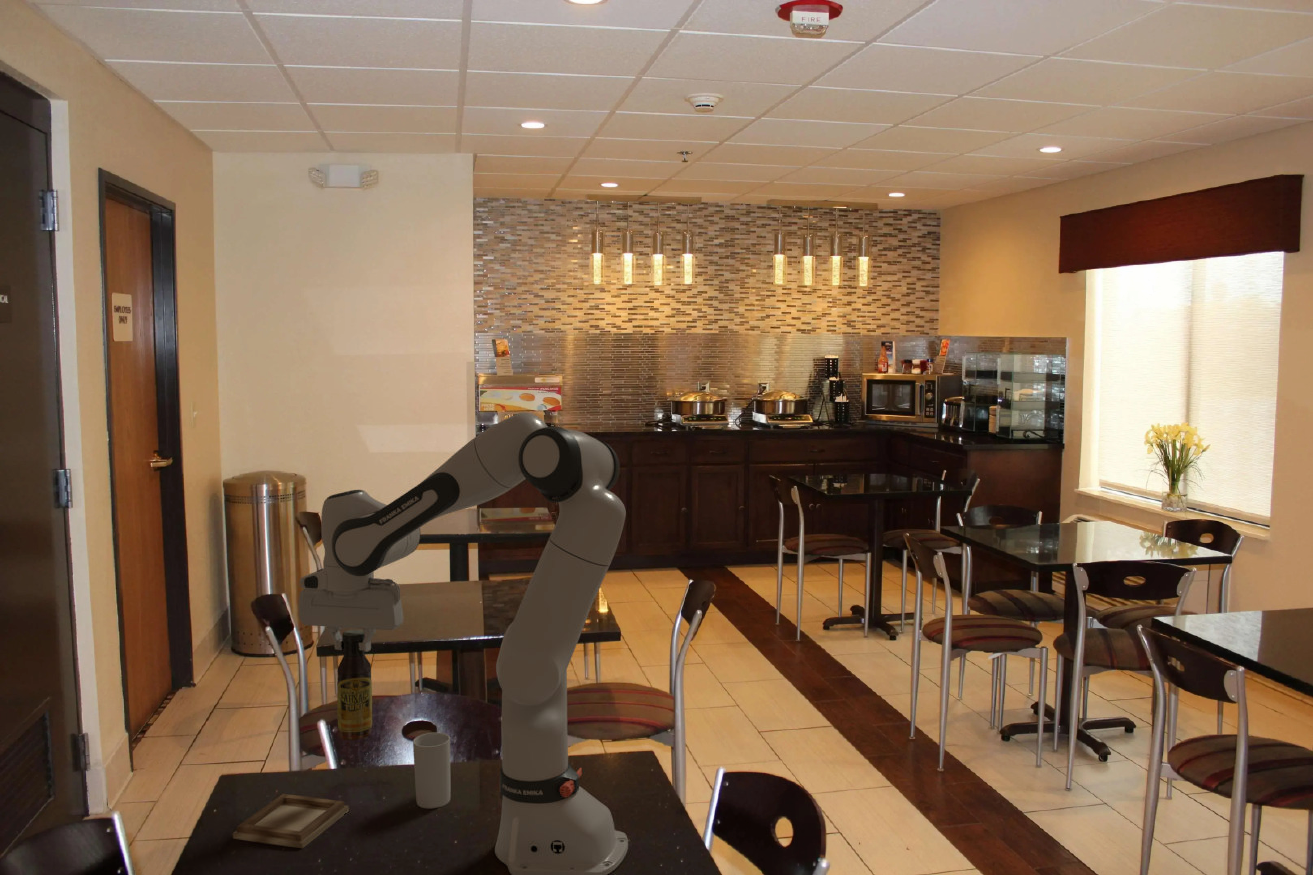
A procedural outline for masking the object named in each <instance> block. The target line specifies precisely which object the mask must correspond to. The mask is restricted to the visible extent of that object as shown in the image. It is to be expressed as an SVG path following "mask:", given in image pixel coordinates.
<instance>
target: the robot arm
mask: <svg viewBox="0 0 1313 875" xmlns="http://www.w3.org/2000/svg"><path fill="white" fill-rule="evenodd" d="M620 467H621V465H620V459H619V457H618V454H617V453H616V451H615V450H614V449H613V447H612V446H610V445H609V444H608V443H606V442H605V441H603V440H602V439H599V438H596V437H592V436H590V435H589V434H586V433H585V432H583V431H579V430H577V429H576V430H575V429H570V428H564V427H560V426H548V425H547V423H546V422H544V420H543V419H542V418H541V417H539V416H537V415H536V414H533V413H531V412H519V413H517V414H514V415H512V416H510V417H508V418H505V419H502V420H501V421H499V422H497V423H495V424H493V425H492V426H490V427H488V428H487V429H485V430H484V431H483V432H481V433H479V434H478V435H476V436H475V437H474V438H472V439H471V440H470V441H468V442H467V443H466V444H464V445H463V446H462V447H461V448H459V449H458V450H457V451H456V452H455V453H453V454H452V455H451V456H450V457H449V458H448V459H447V460H446V461H444V463H443V464H441V465H440V466H439V467H438V468H437V469H435V470H434V471H433V472H431V474H429V475H428V476H427V477H426V478H424V479H423V480H422V481H421V482H420V483H418V484H417V485H416V486H414V487H413V488H411V489H409V490H408V491H407V492H405V493H404V494H401V496H399V497H397V498H395V500H393V501H391V502H390V503H389V504H385V503H384V502H381V501H380V500H376V499H375V498H374V497H372V496H371V495H370V494H369V493H368V492H367V491H365V490H362V489H351V490H348V491H342V492H339V493H335V494H331V495H329V496H328V497H326V498H325V499H324V501H323V504H322V509H321V522H320V526H321V542H322V545H323V549H324V557H323V560H322V566H323V568H320V569H318V570H316V571H313V572H311V573H309V574H308V573H307V574H306V575H304V576H302V577H300V579H299V586H300V588H301V591H300V592H299V596H298V618H299V621H300V622H301V623H302V625H303V626H311V627H312V626H313V627H327V632H328V634H329V636H330V637H331V639H332V640H333V642H334V649H335V650H336V651H344V642H343V640H342V636H343V635H342V634H341V632H340V630H342V628H347V629H359V630H363V634H365V638H364V640H363V641H361V642H359V647H360V648H359V651H363V652H366V653H367V652H370V651H371V649H372V642H371V641H372V640H373V638H374V636H375V633H376V632H377V631H379V630H380V631H381V630H382V631H394V630H397V629H398V628H399V627H401V626H402V625H403V624H404V623H403V622H404V618H405V617H404V612H403V604H402V600H401V587H400V585H399V584H398V583H396V582H395V581H394V580H393V579H392V578H391V579H390V578H386V579H385V578H383V579H382V578H375V577H374V575H375V574H374V573H375V571H377V570H379V569H381V568H382V567H386V566H388V565H391V564H393V563H395V562H397V561H400V560H402V559H404V558H406V557H408V556H409V555H411V554H413V553H414V552H415V551H416V549H417V548H418V546H419V545H420V542H421V528H422V527H423V526H425V525H427V524H428V523H429V522H431V521H433V520H435V519H437V518H439V517H442V516H446V515H447V514H448V515H449V514H451V513H454V512H458V511H462V510H466V509H470V508H472V507H476V506H478V505H482V504H484V503H488V502H489V501H491V500H494V499H496V498H498V497H500V496H502V495H504V494H506V493H508V492H509V491H510V490H511V489H513V488H515V487H516V486H518V485H519V484H521V483H522V482H524V481H525V480H526V481H527V482H529V484H530V485H532V486H533V487H534V488H535V489H537V490H538V492H540V493H541V495H542V496H543V497H544V498H545V499H546V500H547V501H548V502H550V503H558V507H559V514H558V517H557V519H556V522H555V526H554V527H553V529H552V531H551V533H550V536H549V537H548V540H547V542H546V545H545V546H544V549H543V551H542V553H541V555H540V557H539V560H538V562H537V565H536V567H535V570H533V574H532V576H531V578H530V580H529V583H528V585H527V588H526V590H525V593H524V594H523V598H522V600H521V603H520V605H519V607H518V610H517V612H516V614H515V617H514V618H513V621H512V622H511V623H510V625H508V627H507V629H506V630H505V631H504V635H503V638H502V642H501V645H500V649H499V652H498V656H497V659H496V666H495V668H496V671H495V673H496V677H497V680H498V684H499V686H500V688H501V691H502V693H501V721H500V724H501V725H500V726H501V727H500V729H501V730H500V731H501V734H500V735H501V758H502V759H501V762H502V763H501V764H502V765H501V767H500V769H499V770H500V771H499V791H500V794H499V795H500V799H501V800H502V802H501V805H502V806H501V815H500V824H499V831H498V835H497V840H496V844H495V847H494V853H495V856H496V857H497V859H498V860H499V861H500V862H502V863H503V864H505V866H507V869H508V872H509V873H510V874H511V875H608V874H610V873H612V872H613V871H614V870H616V869H617V867H619V866H620V864H621V863H622V862H623V860H624V858H625V857H626V854H628V853H627V852H628V849H629V841H628V836H627V834H626V833H625V832H624V831H623V832H622V831H620V830H616V828H615V823H614V820H613V816H612V812H611V810H610V808H608V806H606V805H605V804H604V803H602V801H601V802H600V801H599V799H597V798H595V797H594V796H593V795H591V794H590V793H589V792H588V791H587V790H585V789H584V788H583V787H581V786H580V777H581V776H582V774H583V772H582V767H579V769H578V770H577V771H576V770H574V768H573V767H572V765H571V764H570V762H569V752H568V751H569V745H568V743H569V742H568V741H569V740H568V678H567V676H568V674H567V673H568V671H567V670H568V667H569V664H570V662H571V660H572V657H573V654H574V653H575V650H576V647H577V645H578V642H579V640H580V637H581V634H582V632H583V630H584V626H585V624H586V621H587V619H588V615H589V613H590V611H591V609H592V605H593V603H594V601H595V598H596V597H597V595H598V592H599V590H600V588H601V586H602V584H603V581H604V579H605V577H606V575H607V572H608V570H609V568H610V565H611V563H612V561H613V559H614V556H615V554H616V551H617V549H618V545H619V542H620V540H621V536H622V532H623V530H624V524H625V521H626V515H627V512H626V507H625V505H624V503H623V502H622V500H621V498H620V497H618V496H617V495H616V494H615V493H614V492H612V491H611V489H612V488H613V487H614V486H615V485H616V484H617V482H618V478H619V476H620V469H621V468H620Z"/></svg>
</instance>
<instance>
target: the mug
mask: <svg viewBox="0 0 1313 875" xmlns="http://www.w3.org/2000/svg"><path fill="white" fill-rule="evenodd" d="M412 743H413V744H412V745H413V746H412V748H413V749H412V750H413V751H412V752H413V765H414V783H415V798H416V800H415V801H416V804H417V806H418V807H420V808H423V809H428V810H429V809H438V808H442V807H444V806H446V805H447V804H449V803H450V801H451V786H452V785H451V782H452V781H451V736H450V735H449V734H446V733H442V732H428V733H424V734H420V735H418V736H416V737H415V738H413V740H412Z"/></svg>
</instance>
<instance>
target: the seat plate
mask: <svg viewBox="0 0 1313 875" xmlns="http://www.w3.org/2000/svg"><path fill="white" fill-rule="evenodd" d="M349 806H350V805H346V804H345V801H343V800H334V799H327V798H320V797H319V798H318V797H311V796H302V795H296V794H295V795H294V794H288V793H287V794H286V793H283V794H281V795H280V796H279V797H277V798H275V799H274V800H272V801H271V802H270V803H268V804H267V805H265V806H264V807H262V809H260V810H259V811H257V812H255V813H254V814H252V815H251V816H250V817H249V818H248V817H247V819H245V820H244V821H243V822H241V823H240V824H238V825H237V826H236V830H235V831H233V832H232V839H235V840H241V841H248V842H254V843H255V842H256V843H262V844H267V845H268V844H269V845H276V846H283V847H289V848H296V849H297V848H298V849H304V848H305V847H306V846H308V845H309V844H310V843H311V842H313V841H314V840H315V839H316V838H318V836H320V835H321V834H322V833H324V832H325V831H326V830H328V828H330V827H331V826H332V825H334V824H335V823H336V822H338V820H340V819H341V818H342V817H344V816H345V815H346V814H347V813H349V812H350V811H349V810H350V807H349ZM345 813H346V814H345ZM344 814H345V815H344Z"/></svg>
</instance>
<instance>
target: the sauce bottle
mask: <svg viewBox="0 0 1313 875" xmlns="http://www.w3.org/2000/svg"><path fill="white" fill-rule="evenodd" d="M341 636H342V640H343V642H344V650H343V656H342V658H341V660H340V662H339V665H338V666H337V682H336V683H337V684H336V686H337V687H336V688H337V689H336V690H337V693H336V694H337V695H336V696H337V729H338V737H339V738H340V739H342V740H346V741H357V740H361V739H364V738H368V737H369V736H370V735H371V733H372V729H373V728H372V726H373V687H372V686H373V683H372V682H373V681H372V667H371V666H372V665H371V663H370V661H369V660H368V658H367V656H366V655H365V652H363V651H359V648H360V647H359V642H361V641H363V640H364V638H365V636H366V634H363V629H349V630H346V631H344V632H342V635H341Z"/></svg>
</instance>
